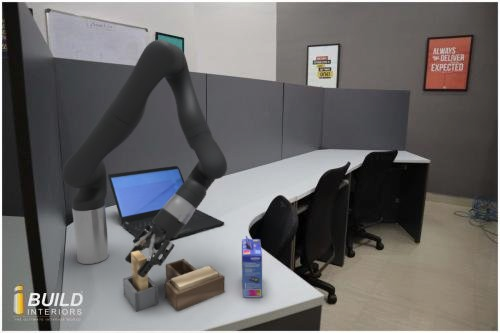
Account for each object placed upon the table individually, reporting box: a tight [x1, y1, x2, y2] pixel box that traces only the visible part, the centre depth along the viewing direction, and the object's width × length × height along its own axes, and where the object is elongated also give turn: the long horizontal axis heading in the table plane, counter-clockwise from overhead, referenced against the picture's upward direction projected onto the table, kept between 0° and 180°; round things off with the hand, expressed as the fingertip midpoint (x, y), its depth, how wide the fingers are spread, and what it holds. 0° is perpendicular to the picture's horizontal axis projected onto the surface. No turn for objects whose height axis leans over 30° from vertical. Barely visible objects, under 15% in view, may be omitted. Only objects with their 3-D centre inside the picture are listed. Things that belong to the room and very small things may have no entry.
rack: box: [164, 258, 226, 312], centre depth 91 cm, size 16×14×4 cm
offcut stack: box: [171, 265, 219, 292], centre depth 88 cm, size 5×12×5 cm, turn 128°
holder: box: [122, 275, 159, 312], centre depth 86 cm, size 9×6×4 cm, turn 38°
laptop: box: [107, 165, 225, 241], centre depth 138 cm, size 33×38×19 cm
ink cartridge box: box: [241, 235, 264, 298], centre depth 91 cm, size 10×6×14 cm, turn 2°
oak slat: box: [130, 250, 149, 292], centre depth 85 cm, size 6×2×12 cm, turn 39°
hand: (133, 268), depth 84 cm, fingers open, 8 cm apart
